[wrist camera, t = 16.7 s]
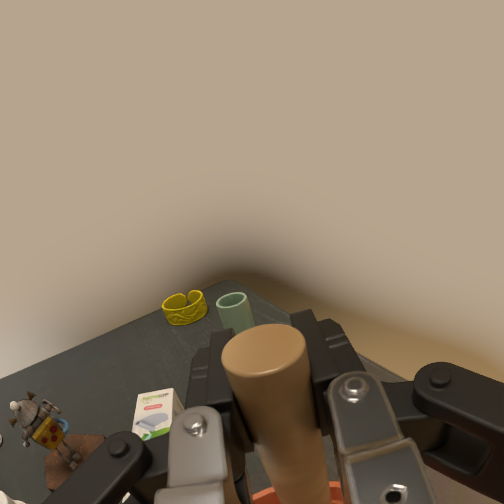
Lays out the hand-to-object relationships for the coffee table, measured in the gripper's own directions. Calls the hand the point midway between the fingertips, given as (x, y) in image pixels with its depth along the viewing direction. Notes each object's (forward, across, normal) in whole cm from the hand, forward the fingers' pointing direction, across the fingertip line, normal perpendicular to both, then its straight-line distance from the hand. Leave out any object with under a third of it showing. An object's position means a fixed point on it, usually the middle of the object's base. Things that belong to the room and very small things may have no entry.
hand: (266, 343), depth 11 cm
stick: (-3, 0, +16) cm, 16 cm away
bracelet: (+44, +15, +21) cm, 51 cm away
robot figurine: (+10, +25, +21) cm, 34 cm away
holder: (+32, +5, +20) cm, 38 cm away
